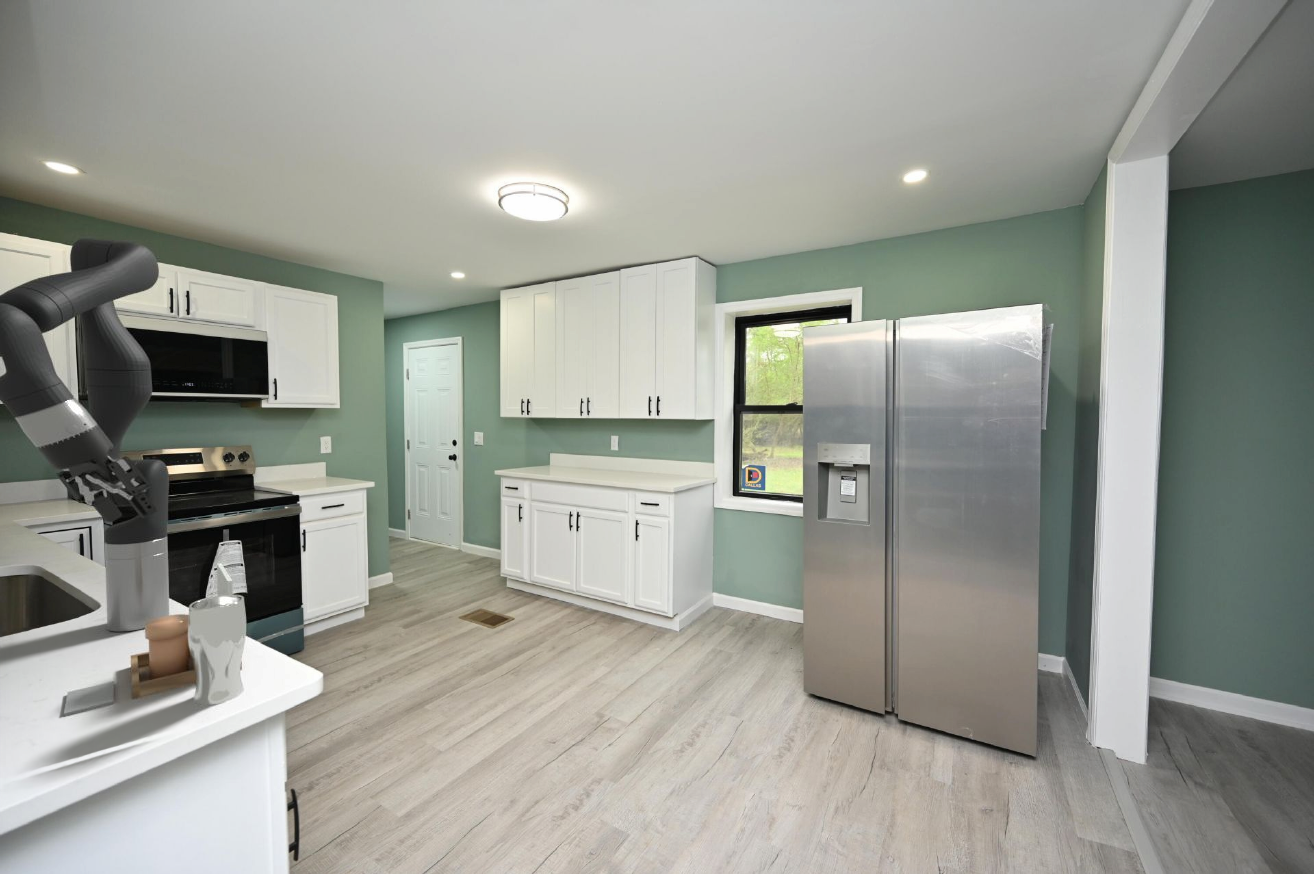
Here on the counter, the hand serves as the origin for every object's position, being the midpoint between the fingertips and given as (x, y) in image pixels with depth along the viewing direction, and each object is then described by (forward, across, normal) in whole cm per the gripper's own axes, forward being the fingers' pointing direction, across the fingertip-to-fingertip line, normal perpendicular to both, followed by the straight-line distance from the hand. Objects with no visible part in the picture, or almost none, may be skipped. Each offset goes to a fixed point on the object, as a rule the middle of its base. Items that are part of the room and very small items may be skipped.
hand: (132, 517), depth 94 cm
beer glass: (+24, -20, +16) cm, 36 cm away
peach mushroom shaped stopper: (+23, -7, +13) cm, 27 cm away
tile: (+19, -4, +21) cm, 29 cm away
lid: (+20, -10, +4) cm, 23 cm away
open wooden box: (+24, -7, +11) cm, 28 cm away
